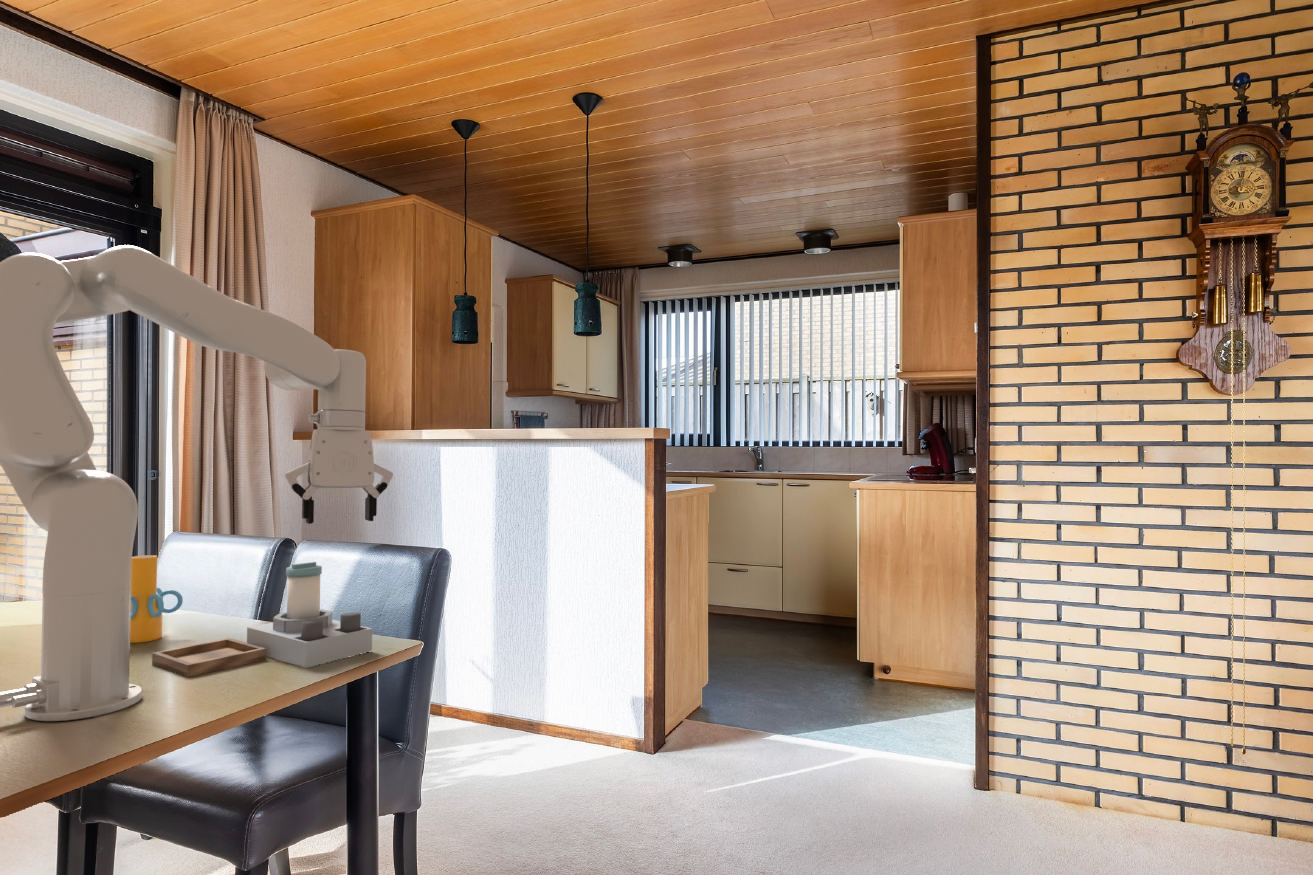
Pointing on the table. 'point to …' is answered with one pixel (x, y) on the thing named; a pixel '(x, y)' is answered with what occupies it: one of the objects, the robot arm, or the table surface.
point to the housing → (289, 647)
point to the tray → (208, 656)
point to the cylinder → (147, 600)
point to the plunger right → (350, 622)
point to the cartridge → (303, 590)
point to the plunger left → (311, 630)
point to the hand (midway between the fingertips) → (339, 521)
